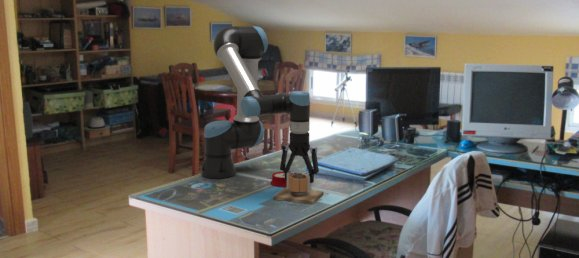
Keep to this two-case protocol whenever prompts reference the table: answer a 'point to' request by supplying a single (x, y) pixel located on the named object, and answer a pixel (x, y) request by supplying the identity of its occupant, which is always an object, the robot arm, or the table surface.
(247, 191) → the table surface
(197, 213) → the table surface
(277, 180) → the alarm clock
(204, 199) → the table surface
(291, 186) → the ring
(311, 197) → the post board
